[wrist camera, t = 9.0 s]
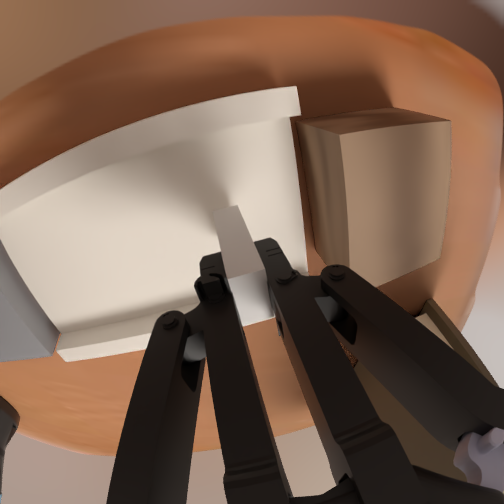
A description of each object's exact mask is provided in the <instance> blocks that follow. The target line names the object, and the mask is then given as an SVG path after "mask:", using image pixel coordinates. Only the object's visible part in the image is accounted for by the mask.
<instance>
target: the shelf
mask: <svg viewBox="0 0 504 504" xmlns="http://www.w3.org/2000/svg"><path fill="white" fill-rule="evenodd" d="M299 115H301V111H300V104H299V98H298V92H297V86H291V87H278V88H271V89H264V90H258V91H252V92H246V93H241V94H236V95H231V96H226V97H221V98H217V99H212V100H208V101H204V102H200V103H196V104H192V105H188V106H185V107H181V108H177V109H174V110H171V111H167V112H164V113H161V114H157V115H154V116H151V117H148V118H145V119H142V120H139V121H137V122H134V123H131V124H128V125H126V126H123V127H120V128H118V129H115V130H113V131H110V132H108V133H105V134H103V135H100V136H98V137H96V138H93V139H91V140H89V141H87V142H84V143H82V144H80V145H78V146H76V147H74V148H72V149H69V150H67V151H65V152H63V153H61V154H59V155H57V156H55V157H54V158H52V159H50V160H48V161H46V162H44V163H42V164H40V165H39V166H37V167H35V168H33V169H32V170H30V171H28V172H26V173H25V174H23V175H21V176H20V177H18V178H17V179H15V180H13V181H12V182H10V183H9V184H7V185H6V186H4V187H2V188H1V189H0V240H1V242H2V244H3V246H4V247H5V249H6V251H7V253H8V255H9V257H10V259H11V260H12V262H13V264H14V266H15V267H16V269H17V271H18V272H19V274H20V276H21V277H22V279H23V281H24V282H25V284H26V285H27V287H28V288H29V290H30V291H31V293H32V294H33V296H34V297H35V299H36V300H37V302H38V303H39V305H40V306H41V308H42V309H43V310H44V312H45V313H46V315H47V316H48V317H49V319H50V320H51V321H52V323H53V324H54V325H55V326H56V328H57V329H58V330H59V332H60V333H61V336H60V339H59V342H58V345H57V349H56V351H57V352H58V354H59V355H60V356H61V357H62V358H63V359H64V360H65V361H66V362H70V361H77V360H84V359H91V358H98V357H104V356H110V355H116V354H121V353H127V352H133V351H138V350H143V349H146V348H147V345H148V342H149V339H150V336H151V333H152V330H153V327H154V324H155V322H156V320H157V319H158V318H159V317H160V316H161V315H162V314H164V313H166V312H167V311H172V310H177V311H180V312H182V313H183V314H185V313H187V312H189V311H191V310H193V309H194V308H196V307H197V306H198V305H199V303H200V300H199V298H198V295H197V293H196V291H195V288H194V283H195V281H196V280H197V278H198V277H200V276H201V275H200V266H199V263H200V261H201V259H202V257H203V256H206V255H210V254H213V253H217V252H221V249H220V245H219V240H218V235H217V231H216V226H215V221H214V217H213V211H216V210H220V209H224V208H227V207H231V206H235V205H238V208H239V210H240V212H241V214H242V217H243V219H244V221H245V224H246V226H247V228H248V230H249V233H250V235H251V237H252V240H253V242H255V241H258V240H262V239H266V238H270V237H271V238H272V239H274V240H276V241H277V242H278V244H279V245H280V248H281V249H282V251H283V253H284V254H285V256H286V258H287V259H288V261H289V263H290V265H291V266H292V268H293V269H295V270H297V271H298V272H299V273H300V274H301V275H304V276H310V275H309V274H308V268H307V256H306V245H305V234H304V224H303V215H302V205H301V197H300V188H299V180H298V172H297V165H296V157H295V150H294V143H293V136H292V130H291V123H290V117H292V116H299ZM271 318H275V314H274V317H271ZM271 318H268V319H271ZM268 319H264V320H268ZM264 320H261V321H264ZM261 321H257V322H261ZM257 322H254V323H257ZM250 324H253V323H250ZM250 324H247V325H250ZM243 326H246V325H243Z"/></svg>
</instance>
